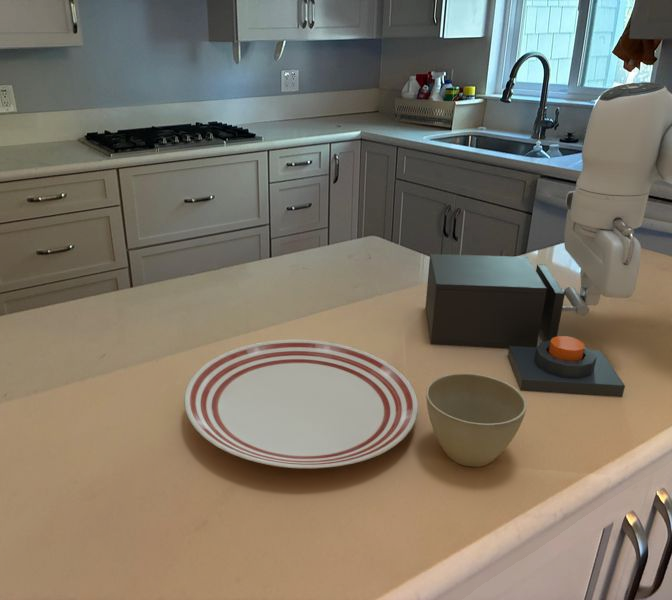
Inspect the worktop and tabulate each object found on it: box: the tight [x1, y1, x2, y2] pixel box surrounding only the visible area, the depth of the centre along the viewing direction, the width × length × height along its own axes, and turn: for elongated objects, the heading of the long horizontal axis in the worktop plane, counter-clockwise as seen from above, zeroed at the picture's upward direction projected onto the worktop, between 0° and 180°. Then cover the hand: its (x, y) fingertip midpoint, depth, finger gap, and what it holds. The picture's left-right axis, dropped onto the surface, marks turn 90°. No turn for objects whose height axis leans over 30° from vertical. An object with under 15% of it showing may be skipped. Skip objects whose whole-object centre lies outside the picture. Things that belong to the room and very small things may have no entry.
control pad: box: [507, 340, 626, 398], centre depth 80 cm, size 12×9×4 cm
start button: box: [549, 335, 586, 361], centre depth 79 cm, size 4×4×2 cm
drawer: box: [535, 263, 590, 342], centre depth 91 cm, size 18×11×8 cm, turn 81°
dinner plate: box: [183, 339, 419, 469], centre depth 74 cm, size 28×27×3 cm
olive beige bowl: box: [425, 372, 528, 468], centre depth 65 cm, size 10×10×7 cm
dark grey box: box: [424, 253, 547, 350], centre depth 92 cm, size 15×13×10 cm
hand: (588, 301), depth 89 cm, fingers closed, pressing on drawer
